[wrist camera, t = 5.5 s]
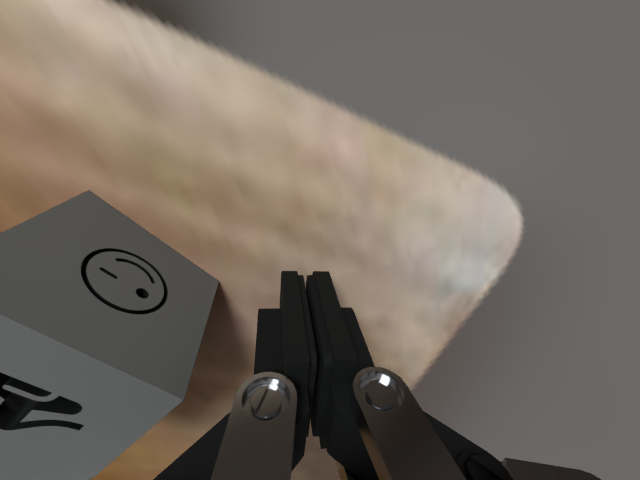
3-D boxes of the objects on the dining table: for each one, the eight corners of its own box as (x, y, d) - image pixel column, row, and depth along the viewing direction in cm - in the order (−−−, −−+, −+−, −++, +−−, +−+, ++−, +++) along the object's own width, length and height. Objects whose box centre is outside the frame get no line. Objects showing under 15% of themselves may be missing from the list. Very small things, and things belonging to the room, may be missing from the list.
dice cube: (219, 280, 11) (183, 399, 7) (139, 355, 12) (63, 503, 8) (89, 189, 9) (-85, 275, 5) (7, 289, 10) (-203, 437, 6)
